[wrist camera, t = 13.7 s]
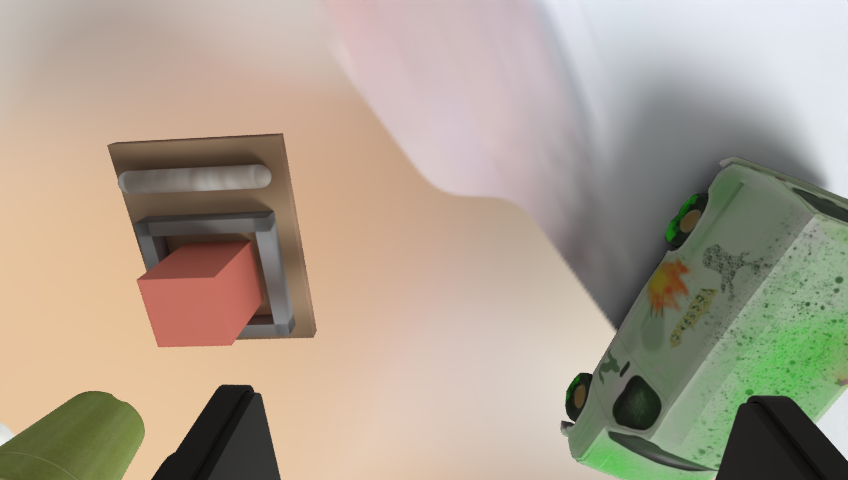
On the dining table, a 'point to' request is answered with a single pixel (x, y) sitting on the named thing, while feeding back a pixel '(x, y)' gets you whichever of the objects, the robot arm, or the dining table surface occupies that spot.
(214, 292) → the red block
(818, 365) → the toy car
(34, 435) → the plant pot
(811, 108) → the dining table surface
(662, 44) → the dining table surface
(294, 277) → the board
